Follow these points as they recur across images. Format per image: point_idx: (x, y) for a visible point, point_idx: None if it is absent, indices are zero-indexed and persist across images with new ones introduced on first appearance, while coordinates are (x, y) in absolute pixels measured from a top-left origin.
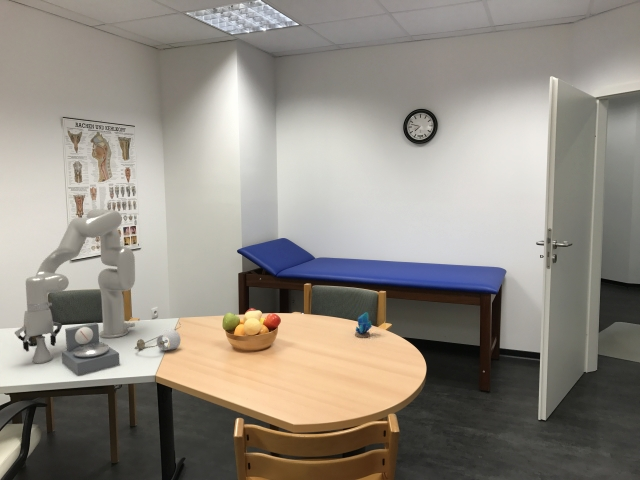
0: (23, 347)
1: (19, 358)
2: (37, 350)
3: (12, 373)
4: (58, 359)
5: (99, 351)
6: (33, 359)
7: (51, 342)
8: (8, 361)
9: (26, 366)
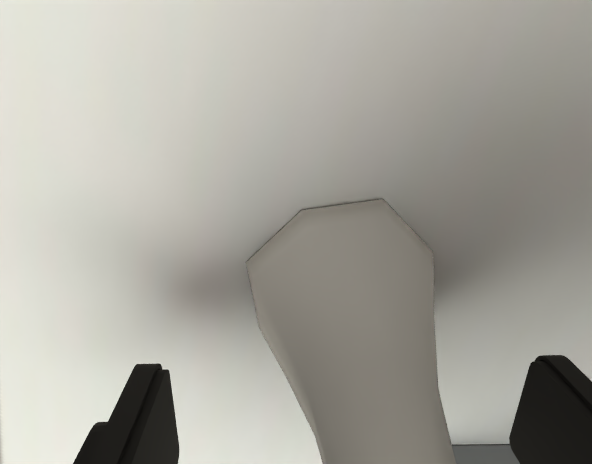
0: (91, 443)
1: (152, 17)
2: (301, 407)
3: (54, 415)
4: (460, 353)
5: None
6: (257, 301)
7: (550, 429)
8: (15, 37)
9: (179, 339)
